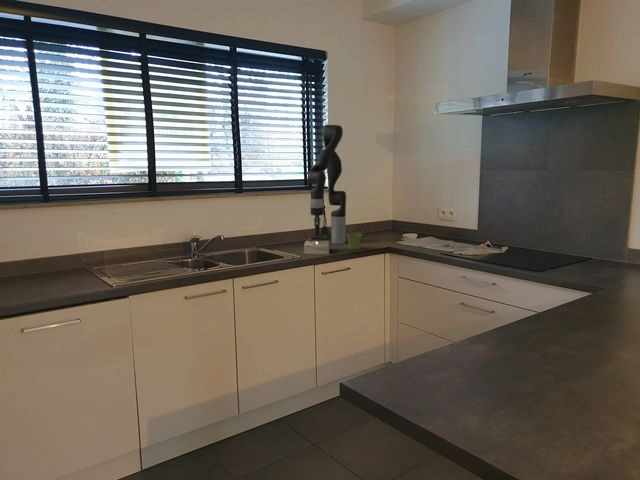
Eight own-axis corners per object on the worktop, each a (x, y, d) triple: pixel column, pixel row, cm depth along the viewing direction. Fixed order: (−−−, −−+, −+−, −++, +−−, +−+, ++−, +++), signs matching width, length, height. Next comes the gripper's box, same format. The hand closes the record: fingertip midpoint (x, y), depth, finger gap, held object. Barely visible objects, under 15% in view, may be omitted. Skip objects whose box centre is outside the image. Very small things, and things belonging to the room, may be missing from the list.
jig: (305, 249, 280) (305, 237, 278) (329, 249, 279) (329, 237, 278) (304, 254, 264) (304, 242, 263) (329, 254, 263) (328, 241, 262)
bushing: (315, 251, 274) (315, 240, 273) (322, 251, 273) (322, 240, 272) (315, 252, 270) (315, 242, 269) (322, 252, 269) (321, 241, 268)
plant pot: (354, 251, 272) (354, 236, 271) (343, 248, 280) (343, 234, 278) (365, 249, 278) (365, 234, 277) (354, 247, 285) (354, 233, 284)
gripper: (311, 205, 274) (311, 234, 278) (310, 207, 261) (310, 238, 265) (323, 205, 274) (324, 234, 277) (323, 207, 261) (323, 238, 264)
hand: (317, 236), depth 271 cm, fingers closed
